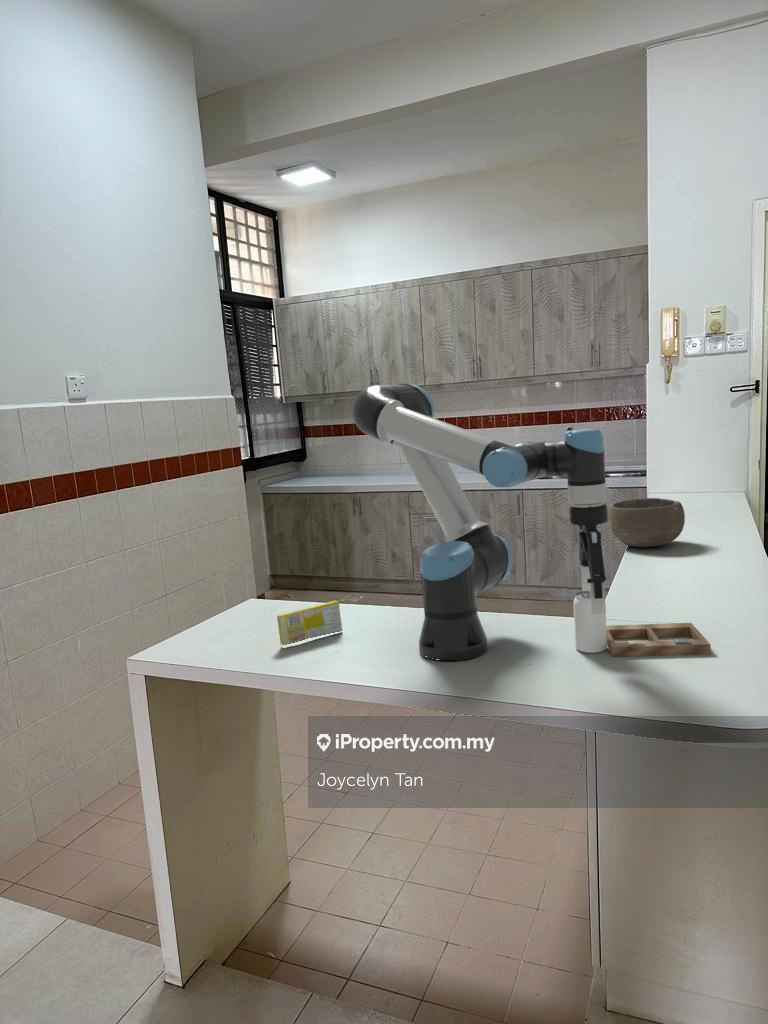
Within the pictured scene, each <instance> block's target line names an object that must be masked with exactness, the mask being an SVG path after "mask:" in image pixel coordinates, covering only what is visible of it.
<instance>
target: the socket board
mask: <svg viewBox="0 0 768 1024" xmlns="http://www.w3.org/2000/svg"><path fill="white" fill-rule="evenodd" d="M606 633H607V648H608V650H609V652H610V654H611V656H612V657H613V658H614V657H639V656H641V657H643V656H645V657H648V656H674V655H675V656H679V655H680V656H682V655H709V654H711V652H712V651H711V650H712V649H711V643H710V642H709V641H708V639H706V637H705V636H704V635H703V634H702V633H701V632H700V630H699V629H698V628H696V627H695V625H694V623H692V622H673V623H672V622H671V623H647V624H646V623H644V624H643V623H641V624H640V623H639V624H620V625H619V624H618V625H617V624H615V625H606ZM668 637H669V638H671V637H672V638H673V637H675V638H674V639H672V640H668V639H667V640H660V639H659V638H668ZM677 637H691V639H690V638H677ZM635 638H636V639H635ZM637 638H638V640H637ZM639 638H641V640H639ZM642 638H646V639H647V640H643V639H642ZM615 639H635V640H627V641H615Z"/></svg>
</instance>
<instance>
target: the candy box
mask: <svg viewBox="0 0 768 1024" xmlns="http://www.w3.org/2000/svg"><path fill="white" fill-rule="evenodd" d="M276 618H277V627H278V634H279V642H280V645H281V644H282V645H287V644H291V643H295V642H298V641H302V640H305V639H308V638H313V637H317V636H321V635H326V634H330V633H335V632H340V631H343V626H342V625H343V624H342V620H341V619H342V618H341V609H340V601H339V600H331V601H328V602H325V603H321V604H316V605H312V606H309V607H304V608H301V609H296V610H293V611H288V612H285V613H281V614H277V615H276Z"/></svg>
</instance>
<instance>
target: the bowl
mask: <svg viewBox="0 0 768 1024" xmlns="http://www.w3.org/2000/svg"><path fill="white" fill-rule="evenodd" d="M684 509H685V508H684V507H683V505H682V503H681V502H680V501H679V500H678V501H677V500H674V499H673V500H672V499H667V498H658V497H643V498H632V499H624V500H619V501H617V502H614V503H612V504H611V505H610V507H609V512H608V523H609V527H610V530H611V532H612V534H613V535H614V536H615V538H617V540H618V541H620V542H621V543H622V544H623V545H625V546H628V547H634V548H635V547H636V548H650V547H651V548H652V547H659V546H663V545H667V544H669V543H671V542H673V541H675V540H676V539H677V538H678V537H679V536H680V535H681V533H682V532H683V530H684V526H685V522H686V521H685V520H686V518H685V516H686V515H685V510H684Z"/></svg>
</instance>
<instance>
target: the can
mask: <svg viewBox="0 0 768 1024" xmlns="http://www.w3.org/2000/svg"><path fill="white" fill-rule="evenodd" d="M574 595H575V598H574V600H573V622H574V623H573V624H574V645H575V649H576V650H577V651H579V652H580V653H584V654H599V653H603V652H605V651H606V650H607V648H608V646H607V633H606V626H607V612H606V613H603V614H592V613H591V597H590V591H582V590H580V591H577V592H576V593H575V594H574Z"/></svg>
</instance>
